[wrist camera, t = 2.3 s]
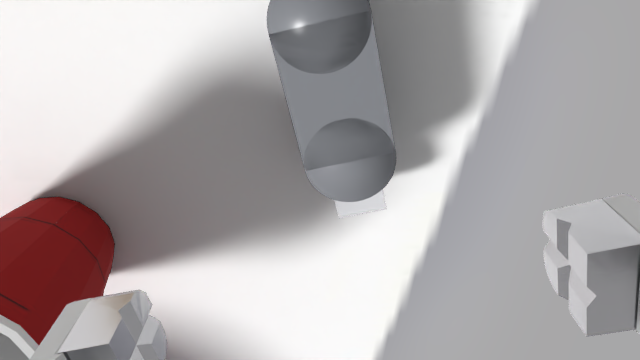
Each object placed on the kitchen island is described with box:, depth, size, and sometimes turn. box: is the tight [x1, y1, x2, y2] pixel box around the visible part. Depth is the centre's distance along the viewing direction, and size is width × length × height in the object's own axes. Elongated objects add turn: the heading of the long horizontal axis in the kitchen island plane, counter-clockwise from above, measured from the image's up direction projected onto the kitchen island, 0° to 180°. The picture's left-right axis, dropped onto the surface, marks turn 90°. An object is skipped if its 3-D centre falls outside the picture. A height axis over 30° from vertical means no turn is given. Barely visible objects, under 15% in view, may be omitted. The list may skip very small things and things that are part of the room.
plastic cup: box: [0, 197, 115, 360], centre depth 23 cm, size 11×11×12 cm
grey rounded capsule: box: [267, 0, 396, 218], centre depth 23 cm, size 4×12×4 cm, turn 13°
